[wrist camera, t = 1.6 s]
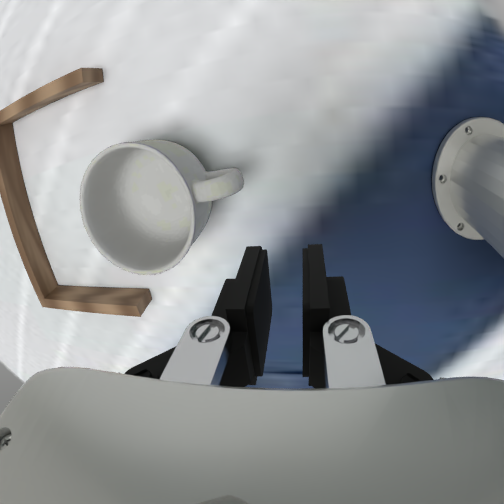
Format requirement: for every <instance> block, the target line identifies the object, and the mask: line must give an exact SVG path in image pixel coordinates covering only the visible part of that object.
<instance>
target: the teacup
mask: <svg viewBox="0 0 504 504" xmlns="http://www.w3.org/2000/svg"><path fill="white" fill-rule="evenodd" d="M243 185H244V180H243V177H242V174H241V172H240V171H239V170H238V169H236V168H228V169H222V170H217V171H208V172H207V171H206V170H205V168H204V167H203V165H202V164H201V162H200V161H199V160H198V159H197V157H196V156H195V155H194V154H193V153H192V152H190V151H189V150H188V149H186V148H185V147H183V146H181V145H179V144H177V143H174V142H170V141H166V140H143V141H137V142H125V143H120V144H116V145H113V146H110V147H108V148H106V149H105V150H103V151H102V152H101V153H99V154H98V155H97V156H96V157H95V158H94V159H93V160H92V162H91V163H90V165H89V166H88V168H87V170H86V171H85V174H84V176H83V179H82V183H81V188H80V211H81V215H82V220H83V225H84V227H85V229H86V231H87V234H88V235H89V237H90V239H91V241H92V243H93V244H94V245H95V247H96V248H97V250H98V251H99V252H100V253H101V254H102V255H103V256H104V257H105V258H106V259H107V260H108V261H110V262H111V263H113V264H114V265H115V266H117V267H119V268H121V269H123V270H125V271H128V272H131V273H134V274H138V275H156V274H159V273H162V272H164V271H167V270H169V269H171V268H172V267H174V266H176V265H177V264H178V263H179V262H180V261H181V260H182V259H183V257H184V256H185V255H186V254H187V252H188V250H189V248H190V246H191V245H192V244H193V243H194V242H195V240H196V239H197V238H198V236H199V235H200V233H201V232H202V230H203V229H204V227H205V225H206V223H207V221H208V218H209V215H210V212H211V207H212V201H214V200H218V199H222V198H225V197H228V196H231V195H233V194H235V193H237V192H238V191H240V190H241V189H242V188H243Z"/></svg>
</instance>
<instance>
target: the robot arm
mask: <svg viewBox="0 0 504 504" xmlns="http://www.w3.org/2000/svg"><path fill="white" fill-rule="evenodd" d="M465 128H466V131H465ZM440 175H441V178H440V179H439V177H440ZM432 190H433V196H434V200H435V204H436V206H437V209H438V211H439V213H440V215H441V217H442V218H443V220H444V221H445V222H446V223H447V225H448V226H449V227H450V228H451V229H452V230H453V231H455V232H456V233H457V234H459V235H461V236H463V237H465V238H468V239H473V240H483V239H485V240H486V241H487V242H488V243H489V244H490V245H491V246H492V247H493V248H494V249H495V250H496V251H497V252H498V253H499V254H500V255H501V256H502V257H503V258H504V124H503V123H501V122H500V121H497V120H494V119H491V118H486V117H472V118H469V119H467V120H464V121H462V122H461V123H459V124H457V125H456V126H455V127H454V128H453V129H452V130H451V131H450V132H449V133H448V134H447V135H446V137H445V138H444V140H443V141H442V143H441V145H440V147H439V149H438V152H437V154H436V157H435V161H434V165H433V173H432ZM271 316H272V300H271V289H270V278H269V267H268V256H267V250H262V247H261V246H250V247H246V250H245V253H244V256H243V259H242V262H241V265H240V268H239V270H238V273H237V276H236V279H226V280H225V283H224V285H223V288H222V290H221V293H220V295H219V298H218V300H217V303H216V306H215V308H214V311H213V313H212V316H206V317H202V318H199V319H196V320H194V321H193V322H191V323H190V324H189V325H188V326H187V328H186V329H185V331H184V333H183V335H182V337H181V339H180V341H179V342H178V344H177V346H176V347H174V348H172V349H170V350H168V351H166V352H164V353H162V354H160V355H158V356H155V357H153V358H151V359H149V360H147V361H145V362H143V363H141V364H139V365H137V366H134V367H133V368H131V369H129V370H128V371H127V372H126V373H125V374H121V373H115V372H108V371H102V370H96V369H90V368H80V367H58V368H51V369H46V370H43V371H40V372H37V373H36V374H34V375H33V376H31V377H30V378H29V379H28V380H27V381H26V382H25V383H24V384H23V386H22V387H21V388H20V389H19V390H18V392H17V393H16V394H15V395H14V397H13V398H12V399H11V401H10V402H9V403H8V405H7V406H6V408H5V409H4V411H3V412H2V414H1V415H0V504H504V380H500V379H494V378H488V377H455V378H441V377H440V379H438V380H433V378H432V377H431V376H430V375H429V374H428V373H427V372H425V371H424V370H422V369H420V368H418V367H416V366H415V365H413V364H411V363H409V362H407V361H406V360H404V359H402V358H400V357H398V356H397V355H395V354H393V353H391V352H389V351H388V350H386V349H384V348H382V347H380V346H379V345H377V344H375V343H374V340H373V336H372V333H371V329H370V327H369V325H368V324H367V323H366V322H365V321H364V320H362V319H360V318H358V317H355V316H351V312H350V306H349V301H348V296H347V291H346V286H345V281H344V277H326V271H325V263H324V255H323V248H322V244H315V245H308V248H305V249H303V377H309V386H313V387H314V388H315V389H280V388H249V387H245V386H246V385H256V381H257V376H263V370H264V364H265V357H266V351H267V344H268V337H269V330H270V323H271Z"/></svg>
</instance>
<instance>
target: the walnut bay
mask: <svg viewBox="0 0 504 504" xmlns="http://www.w3.org/2000/svg"><path fill="white" fill-rule="evenodd" d="M102 82H104V81H103V72H102V69H99V68H80V69H78V70H75V71H73V72H71V73H69V74H67V75H65V76H62V77H60V78H58V79H56V80H54V81H52V82H50V83H48V84H46V85H44V86H42V87H40V88H39V89H37V90H35V91H33V92H31V93H29V94H28V95H26V96H24V97H22V98H21V99H19V100H17V101H16V102H14V103H12V104H11V105H9V106H7V107H6V108H4V109H3V110H1V111H0V194H1V198H2V202H3V205H4V209H5V212H6V215H7V218H8V222H9V225H10V228H11V231H12V234H13V237H14V240H15V242H16V245H17V248H18V251H19V253H20V256H21V259H22V261H23V264H24V266H25V269H26V271H27V274H28V276H29V278H30V281H31V283H32V285H33V288H34V290H35V292H36V294H37V296H38V298H39V301H40V303H41V305H42V307H47V308H55V309H64V310H72V311H82V312H91V313H102V314H113V315H125V316H138V317H141V315H142V314H143V312H144V311H145V309H146V307H147V306H148V304H149V303H150V301H151V300H152V297H151V294H150V291H149V289H139V288H106V287H81V286H61V285H58V284H57V281H56V279H55V276H54V274H53V271H52V269H51V266H50V264H49V261H48V259H47V256H46V253H45V250H44V248H43V245H42V242H41V239H40V236H39V233H38V230H37V227H36V224H35V220H34V217H33V214H32V211H31V207H30V204H29V200H28V196H27V193H26V189H25V185H24V181H23V177H22V172H21V168H20V163H19V158H18V153H17V148H16V143H15V137H14V131H13V124H12V122H14V121H16V120H18V119H20V118H22V117H24V116H26V115H28V114H30V113H32V112H34V111H36V110H38V109H40V108H42V107H44V106H46V105H48V104H50V103H52V102H55V101H57V100H59V99H61V98H64V97H66V96H68V95H71V94H73V93H76V92H78V91H81V90H83V89H86V88H88V87H91V86H94V85H96V84H99V83H102Z"/></svg>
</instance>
